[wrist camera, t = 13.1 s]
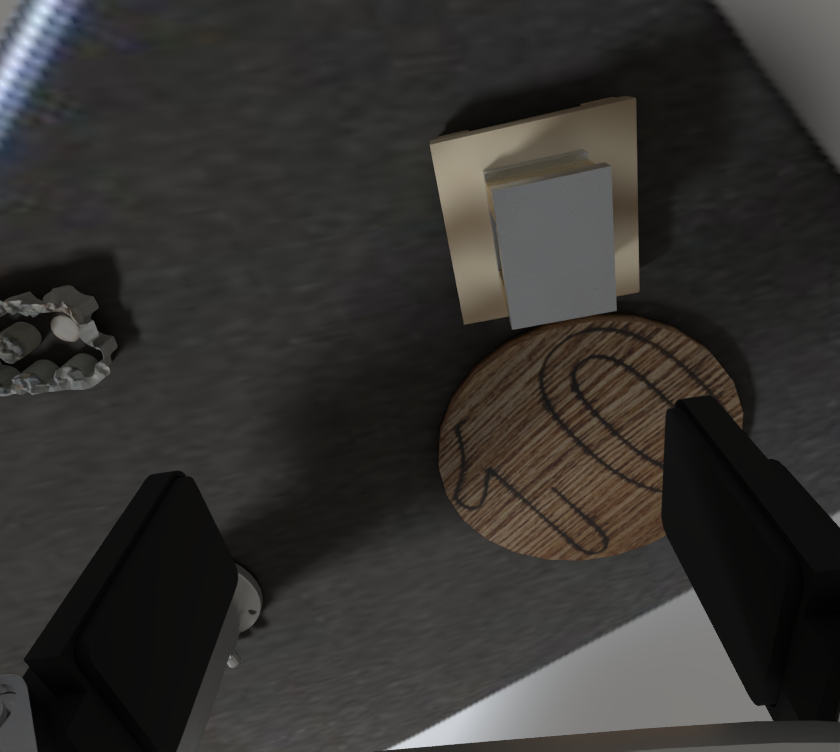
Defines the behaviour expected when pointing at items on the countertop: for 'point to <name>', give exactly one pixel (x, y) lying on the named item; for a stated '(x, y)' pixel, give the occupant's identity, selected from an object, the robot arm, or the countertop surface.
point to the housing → (553, 237)
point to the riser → (518, 142)
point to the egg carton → (26, 337)
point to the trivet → (573, 433)
